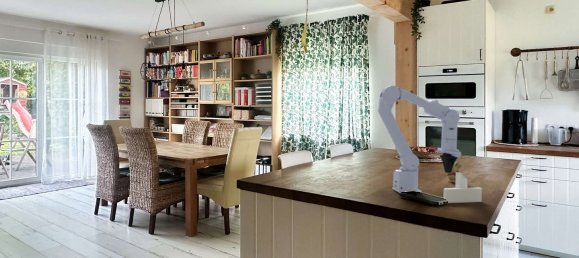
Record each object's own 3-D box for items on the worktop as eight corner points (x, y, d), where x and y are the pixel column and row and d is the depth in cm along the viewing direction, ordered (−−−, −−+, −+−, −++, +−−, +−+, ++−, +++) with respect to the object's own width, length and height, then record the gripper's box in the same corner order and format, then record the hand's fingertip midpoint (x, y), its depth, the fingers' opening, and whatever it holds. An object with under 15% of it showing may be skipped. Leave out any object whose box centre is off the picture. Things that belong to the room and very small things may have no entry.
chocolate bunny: (449, 180, 178) (450, 159, 177) (467, 182, 173) (467, 160, 172) (445, 181, 174) (446, 160, 173) (463, 184, 169) (464, 162, 168)
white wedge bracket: (449, 193, 140) (455, 172, 143) (460, 202, 146) (466, 182, 148) (459, 195, 138) (465, 173, 140) (469, 204, 143) (475, 183, 146)
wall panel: (445, 202, 136) (445, 189, 136) (442, 201, 138) (443, 188, 137) (481, 201, 138) (481, 188, 137) (478, 200, 139) (478, 187, 139)
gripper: (469, 140, 145) (467, 175, 146) (448, 137, 159) (447, 169, 160) (451, 140, 144) (450, 175, 145) (433, 137, 159) (432, 169, 159)
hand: (448, 172), depth 153 cm, fingers closed
